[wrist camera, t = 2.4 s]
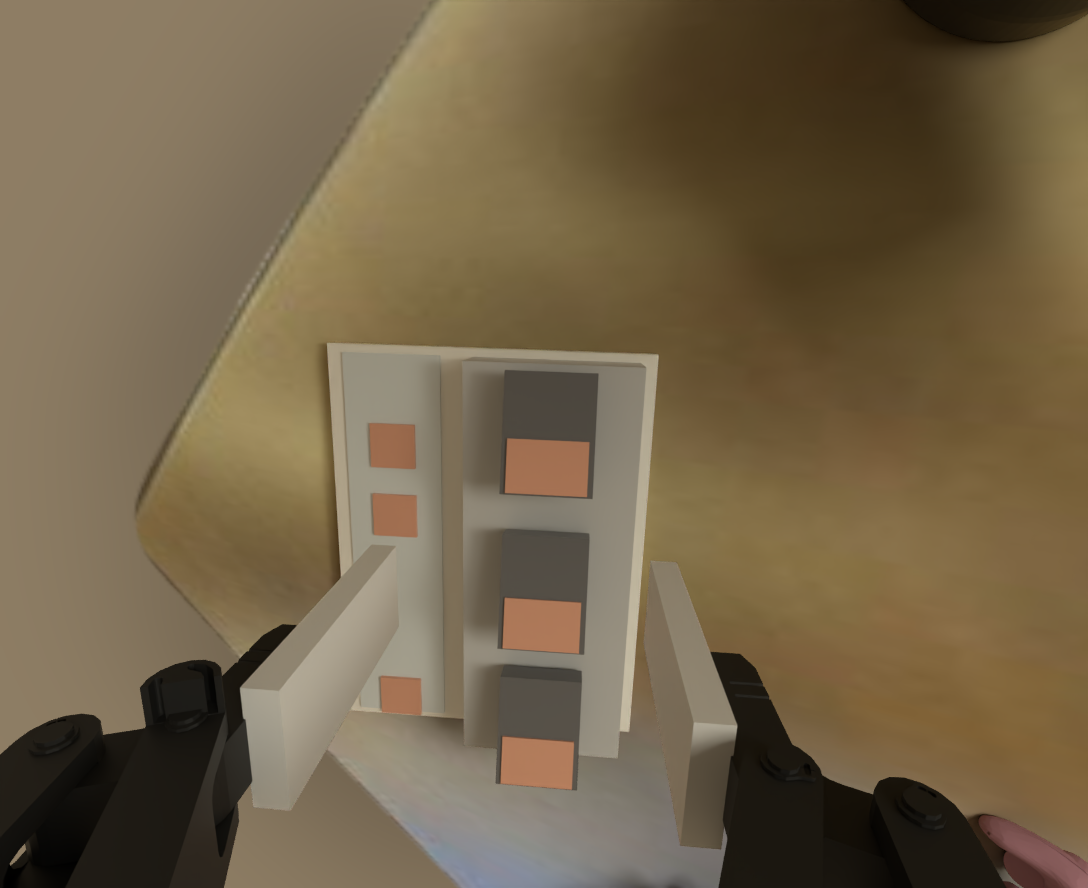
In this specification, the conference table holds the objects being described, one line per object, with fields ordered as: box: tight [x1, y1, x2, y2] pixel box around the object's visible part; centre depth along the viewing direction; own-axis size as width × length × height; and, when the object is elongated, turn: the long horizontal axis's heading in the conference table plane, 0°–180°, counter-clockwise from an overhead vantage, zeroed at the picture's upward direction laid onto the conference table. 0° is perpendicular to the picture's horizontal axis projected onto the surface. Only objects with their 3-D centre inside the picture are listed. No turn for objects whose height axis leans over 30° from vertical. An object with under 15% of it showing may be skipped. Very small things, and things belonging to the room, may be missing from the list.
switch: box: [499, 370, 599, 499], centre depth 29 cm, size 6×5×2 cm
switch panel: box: [327, 342, 659, 758], centre depth 35 cm, size 26×20×4 cm
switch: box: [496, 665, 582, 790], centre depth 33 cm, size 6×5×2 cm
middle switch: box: [497, 529, 590, 655], centre depth 31 cm, size 6×5×2 cm
